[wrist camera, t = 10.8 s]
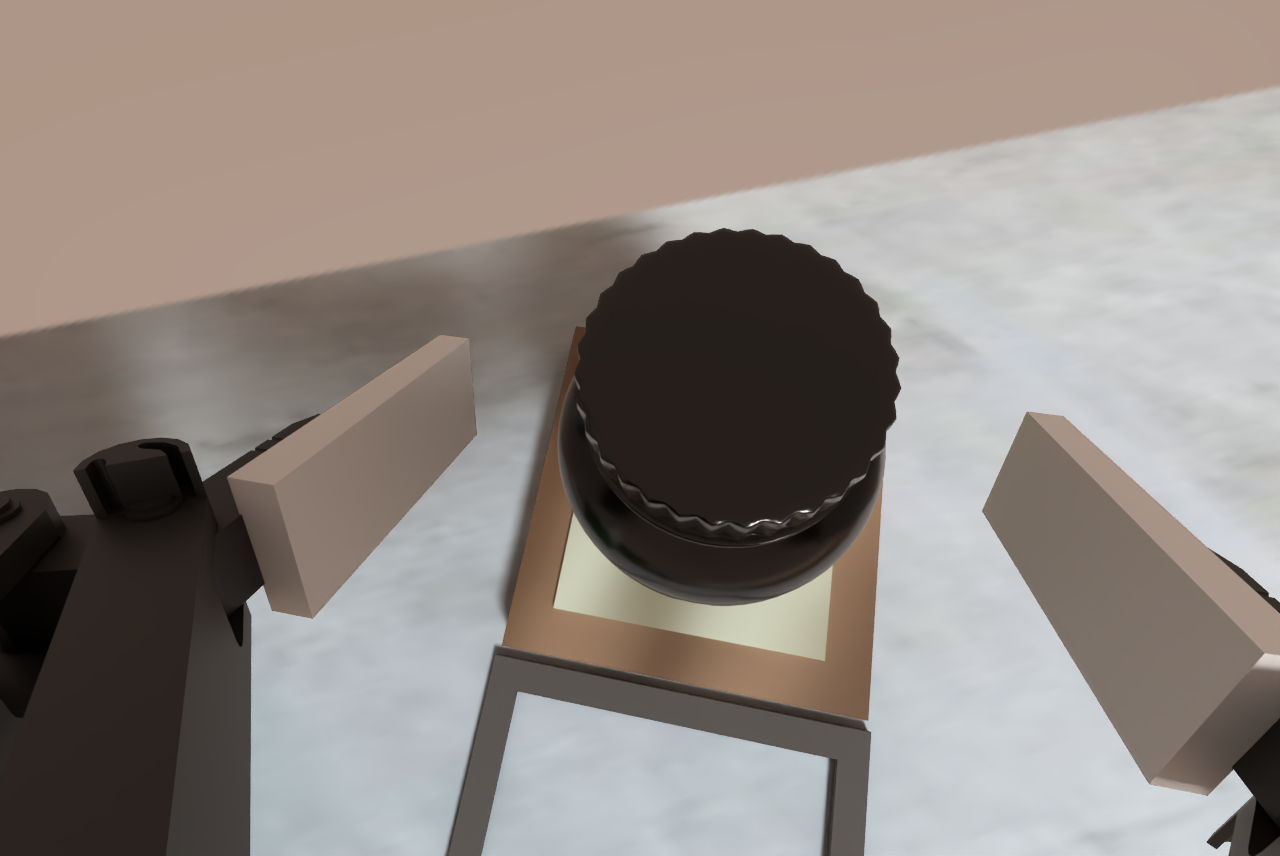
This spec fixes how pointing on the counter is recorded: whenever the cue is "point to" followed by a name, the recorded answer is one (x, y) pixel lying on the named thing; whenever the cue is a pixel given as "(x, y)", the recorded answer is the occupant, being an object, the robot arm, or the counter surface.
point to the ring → (669, 708)
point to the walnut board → (693, 613)
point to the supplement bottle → (728, 417)
